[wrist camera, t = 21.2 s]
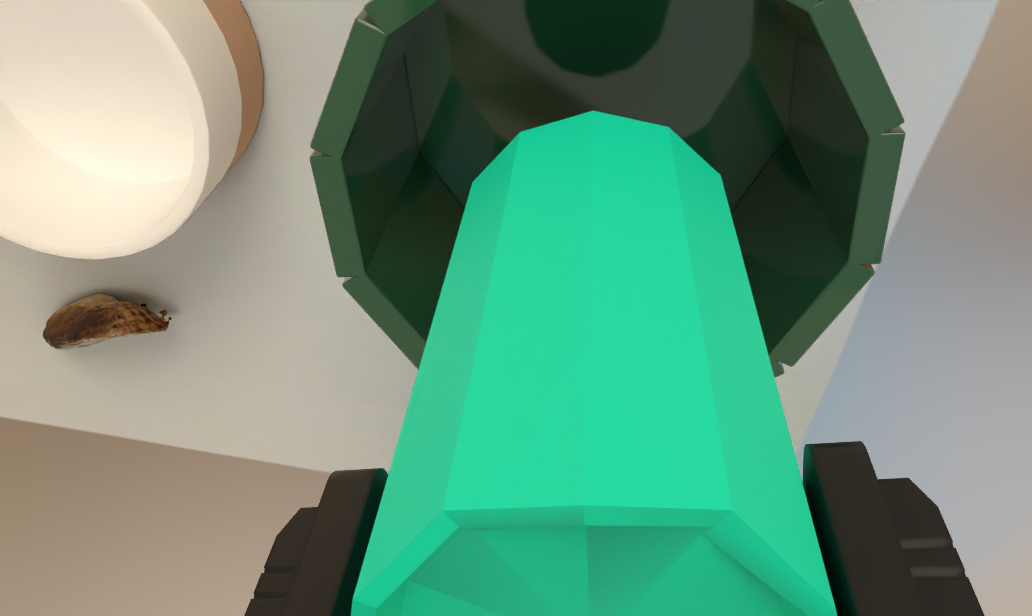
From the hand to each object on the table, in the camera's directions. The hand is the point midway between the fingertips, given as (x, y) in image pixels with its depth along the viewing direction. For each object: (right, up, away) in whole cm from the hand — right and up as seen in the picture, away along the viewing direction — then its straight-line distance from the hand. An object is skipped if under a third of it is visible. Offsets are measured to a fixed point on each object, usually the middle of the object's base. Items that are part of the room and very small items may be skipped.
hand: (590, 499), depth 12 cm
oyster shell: (-29, +3, +46) cm, 54 cm away
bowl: (-24, +17, +36) cm, 46 cm away
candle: (+1, +4, +6) cm, 8 cm away
